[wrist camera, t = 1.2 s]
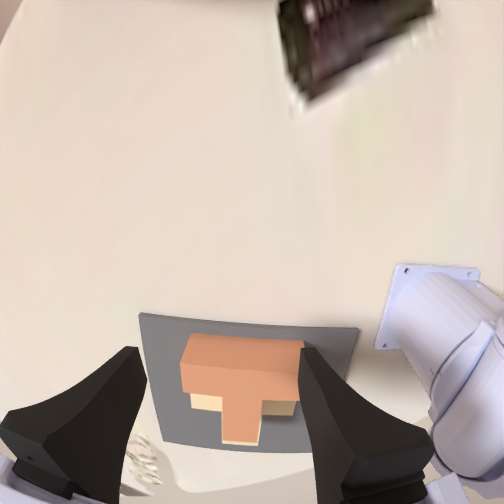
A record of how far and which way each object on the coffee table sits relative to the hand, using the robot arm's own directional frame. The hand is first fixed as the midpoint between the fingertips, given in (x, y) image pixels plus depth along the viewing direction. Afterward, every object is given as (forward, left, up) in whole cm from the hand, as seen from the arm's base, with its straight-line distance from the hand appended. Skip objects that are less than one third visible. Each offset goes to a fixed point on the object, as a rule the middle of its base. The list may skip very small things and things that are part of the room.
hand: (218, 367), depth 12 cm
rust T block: (-1, +10, -10) cm, 14 cm away
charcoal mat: (-1, +13, -10) cm, 17 cm away
